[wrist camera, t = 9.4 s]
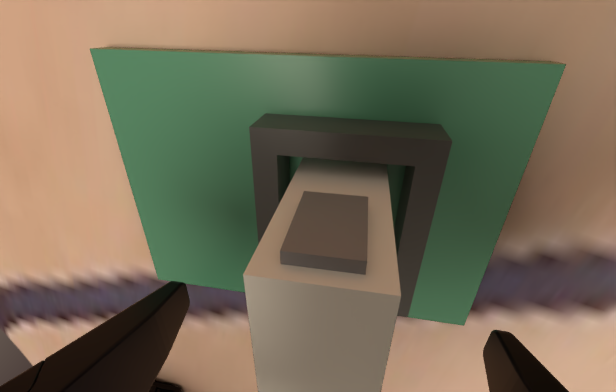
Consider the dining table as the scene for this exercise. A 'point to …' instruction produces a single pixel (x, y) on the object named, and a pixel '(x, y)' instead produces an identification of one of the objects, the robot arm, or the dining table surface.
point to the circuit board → (324, 153)
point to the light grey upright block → (325, 282)
